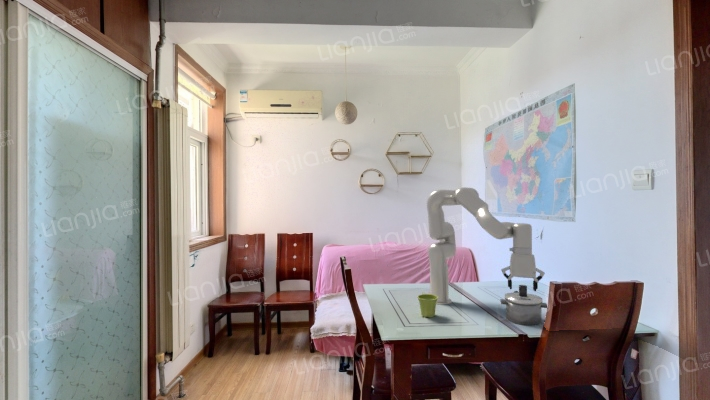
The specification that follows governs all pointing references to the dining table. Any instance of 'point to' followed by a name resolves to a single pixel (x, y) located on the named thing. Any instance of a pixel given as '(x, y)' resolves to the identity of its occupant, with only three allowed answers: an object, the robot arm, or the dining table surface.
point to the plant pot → (427, 304)
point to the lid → (523, 297)
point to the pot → (523, 313)
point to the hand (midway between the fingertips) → (522, 289)
